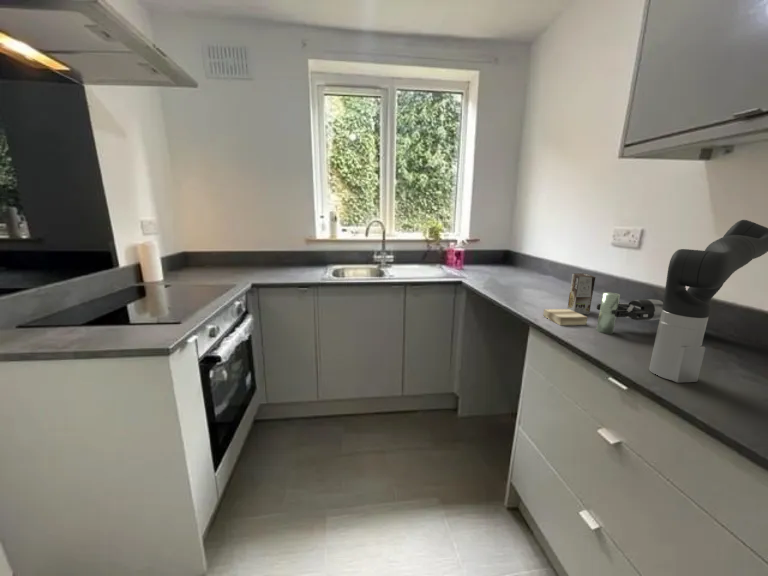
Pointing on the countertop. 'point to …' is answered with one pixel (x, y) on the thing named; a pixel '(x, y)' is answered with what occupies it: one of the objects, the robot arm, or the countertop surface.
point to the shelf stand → (565, 317)
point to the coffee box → (581, 293)
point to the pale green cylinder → (607, 312)
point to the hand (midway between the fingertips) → (606, 310)
